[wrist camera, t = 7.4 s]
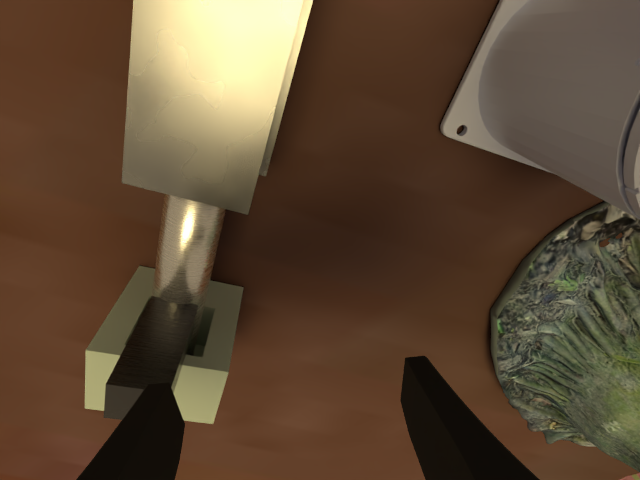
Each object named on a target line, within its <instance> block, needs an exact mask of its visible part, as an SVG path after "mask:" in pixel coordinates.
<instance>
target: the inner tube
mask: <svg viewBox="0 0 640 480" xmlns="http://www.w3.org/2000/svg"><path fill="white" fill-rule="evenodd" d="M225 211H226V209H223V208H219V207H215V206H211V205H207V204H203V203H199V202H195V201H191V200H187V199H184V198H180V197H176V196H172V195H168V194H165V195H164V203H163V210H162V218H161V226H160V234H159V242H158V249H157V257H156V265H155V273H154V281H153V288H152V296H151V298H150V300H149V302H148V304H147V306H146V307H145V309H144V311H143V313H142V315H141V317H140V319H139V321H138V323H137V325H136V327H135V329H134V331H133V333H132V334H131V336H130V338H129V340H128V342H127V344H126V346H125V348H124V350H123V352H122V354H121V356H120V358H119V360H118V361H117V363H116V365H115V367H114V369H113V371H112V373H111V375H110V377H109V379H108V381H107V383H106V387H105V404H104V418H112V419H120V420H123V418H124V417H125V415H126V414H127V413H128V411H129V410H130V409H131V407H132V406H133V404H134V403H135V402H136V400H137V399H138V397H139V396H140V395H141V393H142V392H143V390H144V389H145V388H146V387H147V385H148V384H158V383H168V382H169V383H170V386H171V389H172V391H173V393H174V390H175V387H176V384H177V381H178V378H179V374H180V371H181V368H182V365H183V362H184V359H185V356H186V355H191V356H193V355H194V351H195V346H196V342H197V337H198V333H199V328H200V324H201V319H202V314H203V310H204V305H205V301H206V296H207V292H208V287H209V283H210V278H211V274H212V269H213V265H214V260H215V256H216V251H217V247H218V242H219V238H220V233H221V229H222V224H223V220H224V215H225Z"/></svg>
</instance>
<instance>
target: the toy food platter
mask: <svg viewBox="0 0 640 480" xmlns="http://www.w3.org/2000/svg"><path fill="white" fill-rule="evenodd" d="M619 480H640V473H638V474H635V475H631V476H627V477H625V478H622V479H619Z"/></svg>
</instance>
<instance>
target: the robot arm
mask: <svg viewBox="0 0 640 480" xmlns="http://www.w3.org/2000/svg"><path fill="white" fill-rule="evenodd" d="M461 125H464V130H463V131H462V133H460V134H457V128H458V127H459V126H461ZM440 130H441V132H442V134H444V135H445V136H447V137H449V138H452V139H455V140H457V141H460V142H463V143H466V144H469V145H472V146H475V147H478V148H481V149H484V150H486V151H489V152H492V153H495V154H498V155H501V156H504V157H507V158H510V159H513V160H515V161H518V162H521V163H524V164H527V165H530V166H533V167H536V168H539V169H541V170H544V171H547V172H550V173H553V174H556V175H558V176H560V177H561V178H563V179H565V180H567V181H569V182H571V183H573V184H574V185H576V186H578V187H580V188H582V189H584V190H585V191H587V192H589V193H591V194H593V195H595V196H597V197H598V198H600V199H602V200H604V201H606V202H608V203H610V204H611V205H613V206H615V207H617V208H619V209H621V210H622V211H624V212H626V213H628V214H630V215H632V216H634V217H635V218H637V219H639V220H640V0H500V1H499V3H498V5H497V8H496V10H495V12H494V14H493V16H492V18H491V20H490V22H489V24H488V26H487V28H486V31H485V33H484V35H483V37H482V39H481V41H480V43H479V45H478V47H477V49H476V51H475V53H474V56H473V58H472V60H471V62H470V64H469V66H468V68H467V70H466V72H465V74H464V76H463V78H462V81H461V83H460V85H459V87H458V89H457V91H456V93H455V95H454V97H453V99H452V101H451V104H450V106H449V108H448V110H447V112H446V114H445V116H444V118H443V120H442V122H441V126H440ZM401 404H402V408H403V412H404V416H405V420H406V424H407V428H408V432H409V435H410V438H411V441H412V443H413V446H414V449H415V452H416V454H417V457H418V460H419V463H420V465H421V468H422V471H423V474H424V476H425V479H426V480H539V479H538V478H537V477H536V476H535V475H534V474H533V473H532V472H531V471H530V470H528V469H527V468H526V467H525V466H524V465H523V464H522V463H521V462H520V461H519V460H518V459H517V458H516V457H515V456H514V455H513V454H512V453H511V452H510V451H509V450H508V449H507V448H506V447H505V446H504V445H503V444H502V443H501V442H500V441H499V440H498V439H497V438H496V437H495V436H494V435H493V434H492V433H491V432H490V431H489V430H488V429H487V428H486V427H485V426H484V424H483V423H482V422H481V421H480V420H479V419H478V418H477V417H476V416H475V415H474V413H473V412H472V411H471V410H470V409H469V408H468V407H467V406H466V405H465V403H464V402H463V401H462V400H461V399H460V398H459V397H458V395H457V394H456V393H455V392H454V391H453V389H452V388H451V387H450V386H449V385H448V383H447V382H446V381H445V380H444V379H443V377H442V376H441V375H440V374H439V372H438V371H437V370H436V369H435V367H434V366H433V365H432V363H431V362H430V361H429V360H428V358H427V357H425V356H418V357H408V358H405V365H404V374H403V383H402V392H401ZM184 427H185V423H184V420H183V418H182V415H181V412H180V410H179V407H178V404H177V402H176V399H175V396H174V394H173V391H172V389H171V386H170V383H169V382H168V383H158V384H148V385H147V387H146V388H145V389H144V390H143V392H142V393H141V395H140V396H139V397H138V399H137V400H136V402H135V403H134V404H133V406H132V407H131V409H130V410H129V411H128V413H127V414H126V415H125V417H124V418H123V420H122V421H121V422H120V424H119V425H118V426H117V428H116V429H115V430H114V432H113V433H112V435H111V436H110V437H109V438H108V440H107V441H106V442H105V444H104V445H103V446H102V448H101V449H100V450H99V452H98V453H97V454H96V456H95V457H94V458H93V459H92V461H91V462H90V463H89V465H88V466H87V467H86V468H85V470H84V471H83V472H82V473H81V475H80V476H79V477H78V478H77V479H76V480H174V479H175V476H176V472H177V468H178V464H179V460H180V454H181V448H182V441H183V434H184Z"/></svg>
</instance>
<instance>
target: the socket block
mask: <svg viewBox="0 0 640 480" xmlns="http://www.w3.org/2000/svg"><path fill="white" fill-rule="evenodd" d="M154 273H155V269H153V268H149V267H144V266H139V267H138V269H137V271H136V272H135V274H134V275H133V277H132V278H131V280H130V282H129V283H128V285H127V286H126V288H125V289H124V291H123V293H122V294H121V296H120V297H119V299H118V300H117V302H116V304H115V305H114V307H113V308H112V310H111V311H110V313H109V315H108V316H107V318H106V319H105V321H104V322H103V324H102V326H101V327H100V329H99V330H98V332H97V333H96V335H95V337H94V338H93V340H92V341H91V343H90V344H89V346H88V348H87V349H86V368H85V408H86V409H94V410H102V411H104V404H105V387H106V383H107V381H108V379H109V377H110V375H111V373H112V371H113V369H114V367H115V365H116V363H117V361H118V360H119V358H120V356H121V354H122V352H123V350H124V348H125V346H126V344H127V342H128V340H129V338H130V336H131V334H132V333H133V331H134V329H135V327H136V325H137V323H138V321H139V319H140V317H141V315H142V313H143V311H144V309H145V307H146V306H147V304H148V302H149V300H150V298H151V296H152V288H153V281H154ZM243 288H244V287H240V286H235V285H230V284H225V283H221V282H216V281H211V280H210V283H209V287H208V292H207V296H206V301H205V305H204V310H203V314H202V319H201V324H200V328H199V333H198V337H197V342H196V346H195V351H194V355H193V356H191V355H186V356H185V359H184V362H183V365H182V368H181V371H180V374H179V378H178V381H177V384H176V387H175V390H174V393H173V394H174V396H175V399H176V402H177V404H178V407H179V410H180V412H181V415H182V418H183V420H185V421H193V422H201V423H209V424H213V423H214V419H215V416H216V412H217V409H218V406H219V402H220V399H221V396H222V392H223V389H224V386H225V382H226V379H227V375H228V372H229V366H230V361H231V355H232V349H233V344H234V338H235V333H236V327H237V321H238V316H239V310H240V305H241V299H242V293H243Z"/></svg>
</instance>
